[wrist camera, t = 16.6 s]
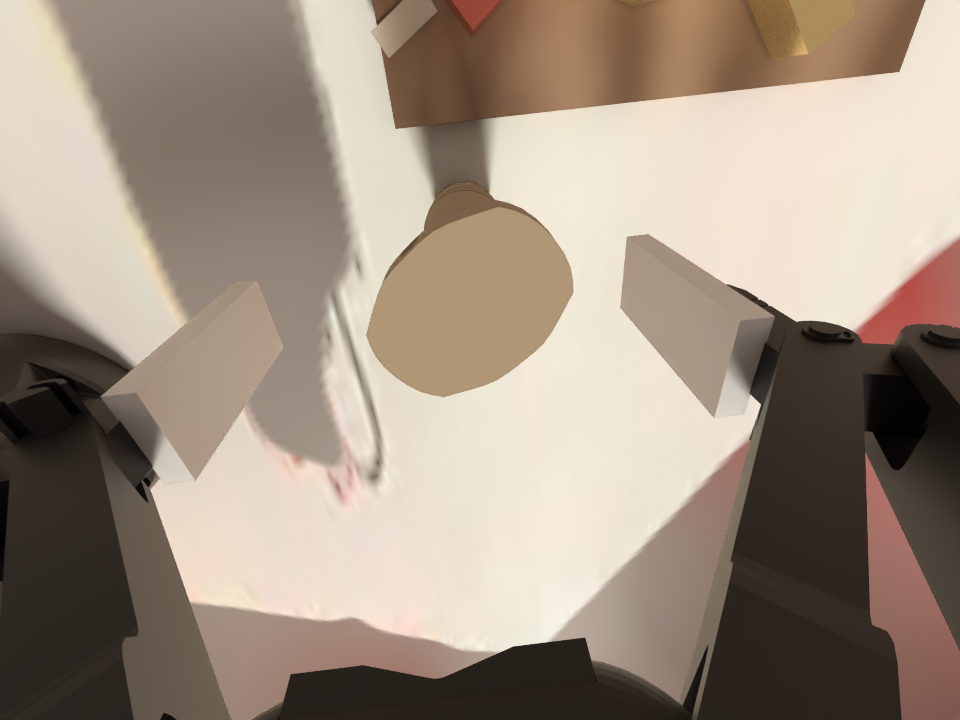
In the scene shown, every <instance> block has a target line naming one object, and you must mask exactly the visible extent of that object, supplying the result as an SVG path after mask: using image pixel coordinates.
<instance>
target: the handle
mask: <svg viewBox="0 0 960 720" xmlns="http://www.w3.org/2000/svg"><path fill="white" fill-rule="evenodd" d="M572 294H573V278H572V273H571V268H570V265H569V263H568V261H567V259H566V257H565V254H564V252H563V251H562V249H561V248H560V247H559V245H558V244H557V242H556V241H555V239H554V238H553V237H552V235H551V234H550V233H549V231H548V230H547V229H546V228H545V227H544V226H543V225H542V224H541V223H540V222H539V221H538V220H537V219H536V218H535V217H533V216H532V215H530V214H529V213H527V212H526V211H525V210H523V209H522V208H520V207H517V206H514V205H512V204H509V203H506V202H502V201H498V200H494V198H493V197H492V196H491V195H490V194H489V193H488V192H487V191H486V190H485V189H483V188H482V187H480V186H478V184H477V183H475V182H472V181H468V182H467V183H466V182H464V183H456V184H453V185H451V186H450V185H448V186H446V187H445V188H444V189H443V190H442V191H441V192H440V194H439V195H438V196H437V198H436V199H435V201H434V202H433V204H432V206H431V207H430V209H429V212H428V215H427V218H426V221H425V225H424V231H423V232H422V233H421V234H420V235H419V236H417V237H416V238H415V239H414V240H413V241H412V242H411V243H410V244H409V245H408V247H407V248H406V249H405V250H404V251H403V252H402V253H401V254H400V255H399V256H398V258H397V259H396V260H395V261H394V262H393V264H392V265H391V266H390V268H389V270H388V272H387V274H386V276H385V278H384V281H383V283H382V286H381V288H380V291H379V293H378V295H377V299H376V302H375V305H374V309H373V312H372V315H371V319H370V323H369V327H368V331H367V334H366V335H367V338H368V341H369V344H370V346H371V348H372V350H373V352H374V354H375V356H376V357H377V359H378V360H379V361H380V362H381V364H382V365H383V366H384V367H385V368H386V369H387V370H388V371H389V372H390V373H392V374H393V375H394V376H395V377H396V378H398V379H399V380H401V381H402V382H404V383H405V384H407V385H408V386H410V387H412V388H414V389H416V390H418V391H420V392H423V393H427V394H431V395H435V396H441V397H446V396H449V395H453V394H457V393H460V392H464V391H468V390H471V389H474V388H478V387H481V386H484V385H486V384H489V383H491V382H494V381H496V380H498V379H499V378H501V377H503V376H504V375H506V374H507V373H509V372H510V371H511V370H513V369H514V368H515V367H516V366H518V365H519V364H520V363H522V362H523V361H524V360H525V359H527V358H528V357H529V356H530V355H532V354H533V353H534V352H535V351H536V350H537V349H538V348H539V347H540V346H541V345H543V344H544V342H545V341H546V339H547V338H548V337H549V335H550V334H551V332H552V331H553V329H554V327H555V326H556V324H557V322H558V320H559V318H560V317H561V315H562V313H563V311H564V309H565V307H566V305H567V303H568V301H569V299H570V297H571V296H572Z"/></svg>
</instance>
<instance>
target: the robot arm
mask: <svg viewBox="0 0 960 720" xmlns="http://www.w3.org/2000/svg"><path fill="white" fill-rule="evenodd" d="M620 308H621V309H622V310H623V311H624V313H625V314H626V315H627V316H628V317H629V319H630V320H631V321H632V322H633V323H634V324H635V326H636V327H637V328H638V329H639V330H640V331H641V333H642V334H643V335H644V336H645V337H646V339H647V340H648V341H649V342H650V343H651V344H652V346H653V347H654V348H655V349H656V350H657V351H658V353H659V354H660V355H661V356H662V357H663V358H664V360H665V361H666V362H667V363H668V364H669V366H670V367H671V368H672V369H673V370H674V371H675V373H676V374H677V375H678V376H679V377H680V378H681V380H682V381H683V382H684V383H685V384H686V386H687V387H688V388H689V389H690V390H691V391H692V393H693V394H694V395H695V396H696V397H697V398H698V400H699V401H700V402H701V403H702V404H703V405H704V407H705V408H706V409H707V410H708V411H709V413H710V414H711V415H712V416H713V417H714V418H719V417H728V416H736V415H744V413H745V410H746V407H747V404H748V401H749V398H750V394H751V395H752V396H753V397H754V398H755V399H756V400H757V401H758V402H759V403H760V404H761V407H760V410H759V413H758V416H757V419H756V421H755V424H754V427H753V430H752V433H751V436H750V439H749V440H751V441H750V445H749V449H748V453H747V457H746V460H745V464H744V468H743V471H742V475H741V479H740V483H739V486H738V490H737V494H736V498H735V501H734V505H733V509H732V512H731V516H730V520H729V524H728V528H727V531H726V535H725V539H724V543H723V546H722V550H721V554H720V557H719V561H718V565H717V569H716V572H715V577H714V580H713V583H712V588H711V591H710V595H709V598H708V602H707V606H706V610H705V613H704V617H703V621H702V625H701V629H700V632H699V636H698V640H697V643H696V647H695V651H694V654H693V658H692V662H691V665H690V669H689V671H688V675H687V678H686V681H685V684H684V687H683V690H682V694H681V697H680V700H679V703H678V702H677V701H675V700H674V699H673V698H672V697H670V696H669V695H668V694H666V693H665V692H664V691H662V690H661V689H659V688H658V687H656V686H655V685H653V684H651V683H649V682H648V681H646V680H645V679H643V678H641V677H639V676H637V675H635V674H633V673H631V672H629V671H626V670H624V669H622V668H619V667H615V666H612V665H609V664H606V663H602V662H597V661H592V660H591V658H590V654H589V650H588V647H587V643H586V639H585V638H579V639H570V640H562V641H554V642H546V643H538V644H530V645H522V646H514V647H511V648H509V649H507V650H505V651H502V652H500V653H498V654H496V655H493V656H491V657H489V658H487V659H484V660H482V661H480V662H478V663H476V664H473V665H471V666H469V667H466V668H464V669H462V670H460V671H457V672H455V673H453V674H450V675H448V676H446V677H443V678H439V679H431V678H426V677H421V676H415V675H410V674H405V673H400V672H395V671H390V670H384V669H379V668H374V667H369V666H364V665H362V666H355V667H347V668H338V669H331V670H323V671H314V672H306V673H298V674H291V676H290V680H289V683H288V687H287V691H286V695H285V698H284V702H281V703H279V704H277V705H275V706H274V707H272V708H270V709H269V710H267V711H265V712H263V713H262V714H260V715H258V716H257V717H256V718H254V719H253V720H901V707H900V693H899V679H898V665H897V658H896V653H895V647H894V643H893V641H892V639H891V637H890V635H889V634H888V632H887V631H884V630H882V629H880V628H878V627H875V626H873V625H872V623H871V617H870V602H869V568H868V533H867V500H866V465H865V452H866V454H867V456H868V458H869V460H870V462H871V465H872V467H873V469H874V471H875V473H876V475H877V477H878V479H879V481H880V483H881V486H882V488H883V490H884V492H885V494H886V496H887V498H888V500H889V502H890V505H891V506H892V509H893V511H894V513H895V515H896V517H897V519H898V521H899V524H900V525H901V528H902V530H903V532H904V534H905V536H906V538H907V540H908V542H909V544H910V547H911V549H912V551H913V553H914V555H915V557H916V559H917V561H918V564H919V566H920V568H921V570H922V572H923V574H924V576H925V578H926V580H927V582H928V585H929V587H930V589H931V591H932V593H933V595H934V597H935V599H936V601H937V603H938V606H939V608H940V610H941V612H942V614H943V616H944V618H945V620H946V623H947V624H948V627H949V629H950V631H951V633H952V635H953V637H954V639H955V642H956V644H957V646H958V648H959V650H960V328H956V327H954V328H952V326H947V325H939V326H938V325H931V324H915V325H910V326H906V327H904V328H903V329H902V330H901V331H900V333H899V335H898V337H897V339H896V341H895V343H894V345H889V344H868V343H862V341H861V339H860V337H859V335H857V334H856V333H854V332H853V331H851V330H849V329H847V328H844V327H842V326H839V325H835V324H831V323H827V322H819V321H799V322H795V321H794V320H792V319H791V318H789V317H788V316H786V315H784V314H783V313H781V312H780V311H778V310H776V309H775V308H773V307H772V306H768V304H767V303H765V302H764V301H762V300H758V298H757V297H756V296H754V295H752V294H751V293H749V292H748V291H746V290H743V289H740V288H737V287H734V286H731V285H726V284H724V283H723V282H721V281H720V280H718V279H716V278H715V277H713V276H712V275H710V274H709V273H707V272H706V271H704V270H703V269H701V268H700V267H698V266H696V265H695V264H693V263H692V262H690V261H689V260H687V259H686V258H684V257H683V256H681V255H680V254H678V253H676V252H675V251H673V250H672V249H670V248H669V247H667V246H666V245H664V244H663V243H661V242H659V241H658V240H656V239H655V238H653V237H652V236H650V235H649V234H647V235H638V236H630V237H627V242H626V252H625V263H624V274H623V285H622V296H621V306H620ZM283 348H284V347H283V345H282V342H281V340H280V338H279V335H278V333H277V330H276V328H275V325H274V323H273V320H272V318H271V315H270V313H269V310H268V308H267V306H266V303H265V301H264V298H263V296H262V293H261V291H260V288H259V286H258V283H257V281H256V280H254V281H245V282H237V283H234V284H232V285H231V286H230V287H229V288H228V289H227V290H226V291H224V292H223V293H222V294H221V295H219V296H218V297H217V298H216V299H215V300H214V301H212V302H211V303H210V304H209V305H208V306H207V307H205V308H204V309H203V310H202V311H201V312H199V314H197V315H196V316H195V317H194V318H192V319H191V320H190V321H189V322H188V323H187V324H185V325H184V326H183V327H182V328H181V329H179V330H178V331H177V332H176V333H175V334H174V335H172V336H171V337H170V338H169V339H168V340H167V341H165V342H164V343H163V344H162V345H161V346H159V347H158V348H157V349H156V350H155V351H154V352H152V353H151V354H150V355H149V356H148V357H147V358H145V359H144V360H143V361H142V362H141V363H140V364H138V365H137V366H136V367H135V368H134V369H132V370H131V371H130V372H127V371H126V370H124V369H123V368H121V367H120V366H118V365H116V364H115V363H113V362H111V361H109V360H107V359H106V358H104V357H102V356H100V355H98V354H96V353H93V352H91V351H89V350H86V349H84V348H81V347H79V346H76V345H73V344H70V343H67V342H63V341H60V340H56V339H51V338H47V337H41V336H34V335H23V334H7V335H0V720H231V718H230V715H229V713H228V710H227V708H226V705H225V702H224V699H223V696H222V694H221V691H220V688H219V685H218V682H217V679H216V676H215V674H214V671H213V668H212V665H211V662H210V659H209V657H208V653H207V651H206V648H205V645H204V642H203V639H202V636H201V634H200V631H199V628H198V625H197V622H196V619H195V616H194V613H193V610H192V608H191V605H190V602H189V599H188V596H187V593H186V590H185V588H184V585H183V582H182V579H181V576H180V573H179V570H178V568H177V565H176V562H175V559H174V556H173V553H172V550H171V547H170V545H169V542H168V539H167V536H166V533H165V530H164V527H163V525H162V522H161V519H160V516H159V513H158V510H157V507H156V505H155V502H154V499H153V496H152V493H151V490H150V489H151V488H152V487H153V486H154V485H155V484H156V483H157V481H158V480H159V479H161V480H162V481H163V483H164V484H173V483H181V482H190V481H196V479H197V478H198V476H199V475H200V473H201V472H202V470H203V468H204V467H205V465H206V464H207V462H208V461H209V459H210V458H211V456H212V455H213V453H214V452H215V450H216V449H217V447H218V446H219V444H220V443H221V441H222V440H223V438H224V437H225V435H226V434H227V432H228V431H229V429H230V428H231V426H232V425H233V423H234V422H235V420H236V419H237V417H238V416H239V414H240V413H241V411H242V410H243V408H244V407H245V405H246V404H247V402H248V401H249V399H250V398H251V396H252V395H253V393H254V392H255V390H256V388H257V387H258V385H259V384H260V383H261V381H262V380H263V378H264V376H265V375H266V373H267V372H268V370H269V369H270V367H271V366H272V364H273V363H274V361H275V360H276V358H277V357H278V355H279V354H280V352H281V351H282V349H283Z"/></svg>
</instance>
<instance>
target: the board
mask: <svg viewBox="0 0 960 720" xmlns="http://www.w3.org/2000/svg"><path fill="white" fill-rule="evenodd" d="M851 1H852V4H853V8H854V11H855V14H856V15H855V16H854V17H853V18H852V19H850V20H849V21H848V22H847V23H846V24H844V25H843V26H842V27H841V28H839V29H838V30H837V31H836V32H835V33H833V34H832V35H831V36H830V37H829V38H827V39H826V40H825V41H824V42H822V43H821V44H820V45H819V46H818V47H816V48H815V49H814V50H813V51H812V52H810V53H809V54H805V55H797V56H790V57H783V58H776V59H771V57H770V55H769V52H768V50H767V48H766V45H765V43H764V40H763V38H762V35H761V33H760V31H759V28H758V26H757V23H756V21H755V18H754V16H753V14H752V11H751V9H750V6H749V4H748V1H747V0H655V1H651V2H647V3H644V4H640V5H636V6H631V5H629V4H627V3H625V2H622V1H620V0H505V1H504V2H503V3H502V4H501V6H500V7H499V8H498V9H497V10H496V11H495V12H494V14H493V15H492V16H491V17H490V18H489V19H488V20H487V22H486V23H485V24H484V25H483V26H482V27H481V28H480V30H479V31H478V32H477V33H476V34H475V35H474V36H473V38H471V37H470V35H469V34H468V32H467V31H466V30H465V28H464V27H463V26H462V24H461V23H460V21H459V20H458V19H457V17H456V16H455V14H454V13H453V12H452V10H451V9H450V8H449V6H448V5H447V3H446V2H445V1H444V0H373V6H374V11H375V17H376V22H377V27H375V28H374V29H373V30H372V31H371V32H372V34H373V35H374V37H375V38H376V40H377V41H378V43H379V44H380V46H381V50H382V56H383V61H384V67H385V72H386V78H387V84H388V89H389V95H390V100H391V106H392V112H393V117H394V123H395V128H396V129H398V128H407V127H416V126H425V125H434V124H443V123H451V122H460V121H469V120H478V119H487V118H496V117H504V116H513V115H522V114H531V113H540V112H549V111H558V110H566V109H575V108H584V107H593V106H602V105H611V104H619V103H628V102H637V101H646V100H655V99H664V98H672V97H681V96H690V95H699V94H708V93H717V92H726V91H734V90H743V89H752V88H761V87H770V86H779V85H787V84H796V83H805V82H814V81H823V80H832V79H840V78H849V77H858V76H867V75H876V74H885V73H894V72H899V71H900V69H901V66H902V63H903V60H904V58H905V55H906V52H907V49H908V47H909V44H910V41H911V38H912V36H913V33H914V30H915V27H916V25H917V22H918V19H919V16H920V14H921V11H922V8H923V5H924V3H925V0H851Z"/></svg>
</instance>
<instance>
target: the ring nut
mask: <svg viewBox="0 0 960 720" xmlns="http://www.w3.org/2000/svg"><path fill="white" fill-rule="evenodd" d="M444 1H445V2H446V3H447V5H448V6H449V8H450V9H451V10H452V12H453V13H454V14H455V16H456V17H457V19H458V20H459V21H460V23H461V24H462V26H463V27H464V28H465V30H466V31H467V32H468V34H469V35H470V37H471V38H473V36H474V35H475V34H476V33H477V32H478V31H479V30H480V28H481V27H482V26H483V25H484V24H485V23H486V22H487V20H488V19H489V18H490V17H491V16H492V15H493V14H494V12H495V11H496V10H497V9H498V8H499V7H500V6H501V4H502V3H503V2H504V1H505V0H444ZM620 1H622V2H625V3H627V4H629V5H631V6H636V5H640V4H644V3H647V2H651V1H655V0H620ZM747 1H748V4H749V6H750V9H751V11H752V14H753V16H754V18H755V21H756V23H757V26H758V28H759V31H760V33H761V35H762V38H763V40H764V43H765V45H766V48H767V50H768V52H769V55H770V57H771V59H776V58H783V57H790V56H797V55H805V54H809V53H810V52H812V51H813V50H814V49H815V48H816V47H818V46H819V45H820V44H821V43H822V42H824V41H825V40H826V39H827V38H829V37H830V36H831V35H832V34H833V33H835V32H836V31H837V30H838V29H839V28H841V27H842V26H843V25H844V24H846V23H847V22H848V21H849V20H850V19H852V18H853V17H854V16H855V15H856V14H855V11H854V8H853V4H852V1H851V0H747Z"/></svg>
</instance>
